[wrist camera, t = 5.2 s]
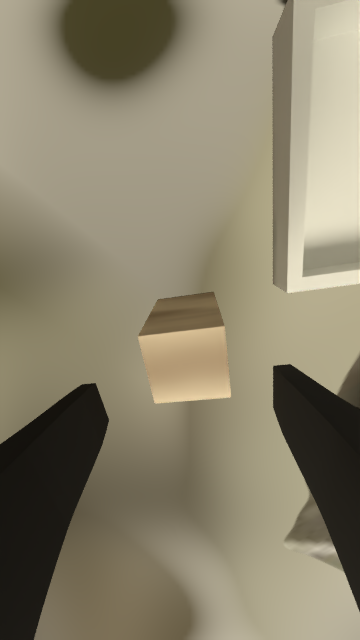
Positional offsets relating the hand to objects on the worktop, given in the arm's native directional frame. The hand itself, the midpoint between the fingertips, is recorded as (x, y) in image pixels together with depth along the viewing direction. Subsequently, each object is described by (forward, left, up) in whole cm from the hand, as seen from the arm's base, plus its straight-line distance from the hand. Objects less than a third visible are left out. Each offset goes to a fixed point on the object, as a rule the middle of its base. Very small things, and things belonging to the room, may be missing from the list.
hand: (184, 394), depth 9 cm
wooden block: (0, 0, -8) cm, 8 cm away
